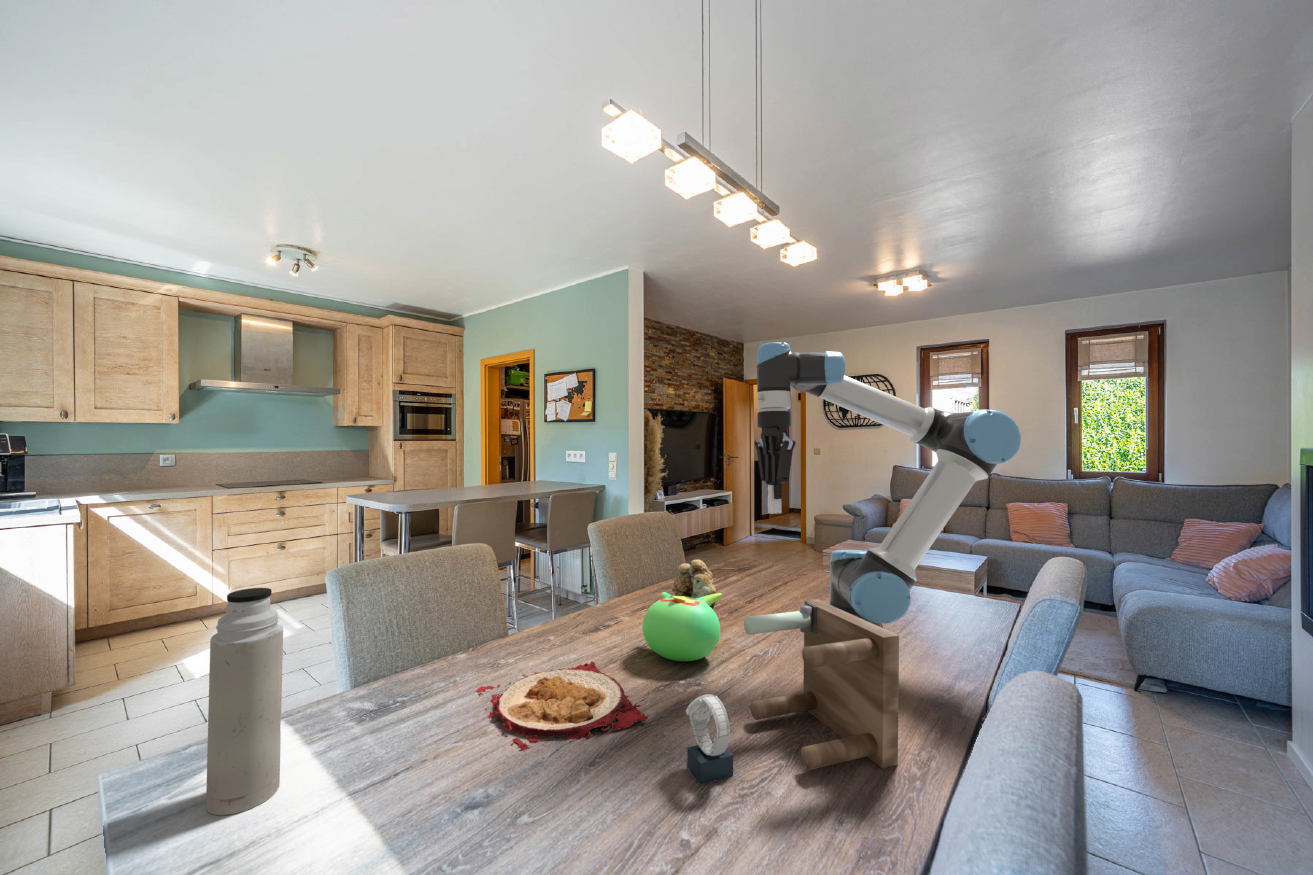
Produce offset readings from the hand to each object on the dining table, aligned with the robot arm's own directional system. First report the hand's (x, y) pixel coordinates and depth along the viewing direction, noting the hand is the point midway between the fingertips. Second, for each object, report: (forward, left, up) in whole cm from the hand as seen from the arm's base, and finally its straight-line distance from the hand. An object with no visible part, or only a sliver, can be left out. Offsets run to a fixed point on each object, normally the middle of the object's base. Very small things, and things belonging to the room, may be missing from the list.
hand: (774, 512), depth 122 cm
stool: (+11, +31, -34) cm, 47 cm away
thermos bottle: (+95, +17, -34) cm, 102 cm away
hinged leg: (+14, +23, -18) cm, 33 cm away
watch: (+32, +33, -34) cm, 57 cm away
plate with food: (+50, +6, -35) cm, 61 cm away
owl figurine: (+6, -30, -34) cm, 46 cm away
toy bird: (+19, -8, -34) cm, 40 cm away
